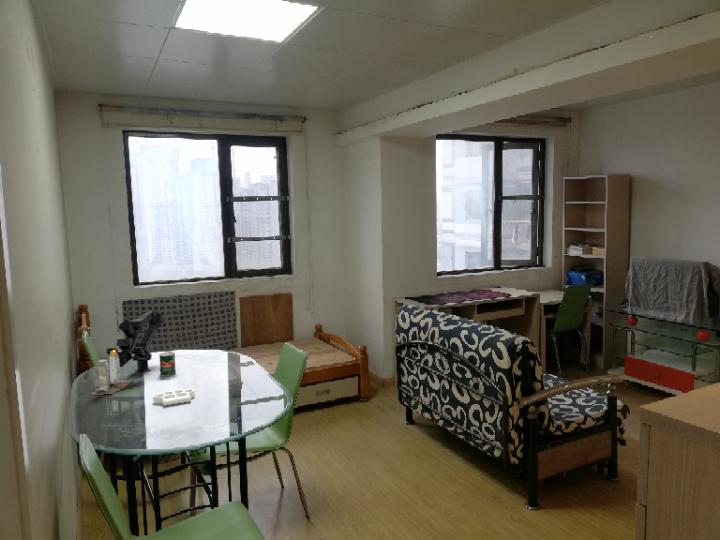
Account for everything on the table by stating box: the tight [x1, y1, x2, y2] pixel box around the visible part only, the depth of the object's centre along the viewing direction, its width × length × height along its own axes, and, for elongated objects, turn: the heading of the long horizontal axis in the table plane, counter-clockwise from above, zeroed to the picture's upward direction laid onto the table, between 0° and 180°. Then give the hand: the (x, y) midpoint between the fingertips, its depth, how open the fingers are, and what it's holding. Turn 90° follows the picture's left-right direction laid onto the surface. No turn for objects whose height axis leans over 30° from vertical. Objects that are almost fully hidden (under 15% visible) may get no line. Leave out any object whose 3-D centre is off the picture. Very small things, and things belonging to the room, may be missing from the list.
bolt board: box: [91, 359, 134, 396], centre depth 260 cm, size 20×10×16 cm, turn 177°
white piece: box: [152, 388, 195, 407], centre depth 240 cm, size 3×18×15 cm
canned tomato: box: [158, 351, 177, 377], centre depth 284 cm, size 8×8×11 cm
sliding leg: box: [108, 350, 121, 385], centre depth 262 cm, size 4×6×17 cm
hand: (120, 366), depth 268 cm, fingers closed
